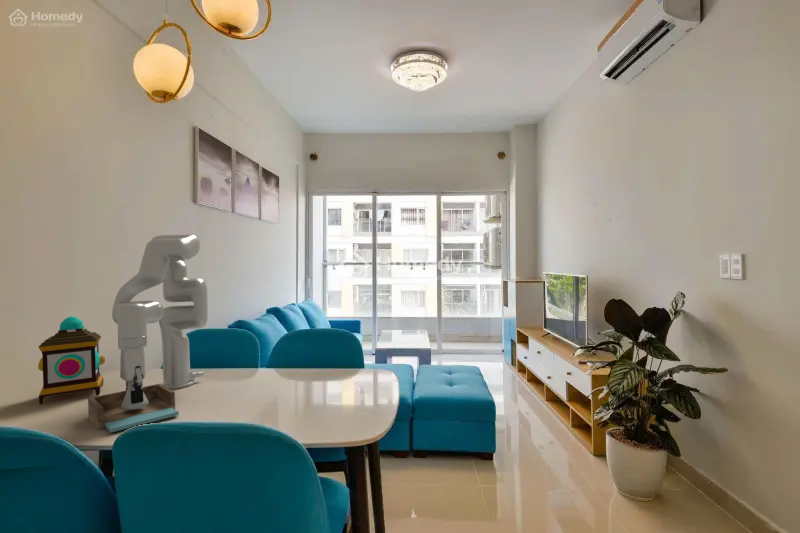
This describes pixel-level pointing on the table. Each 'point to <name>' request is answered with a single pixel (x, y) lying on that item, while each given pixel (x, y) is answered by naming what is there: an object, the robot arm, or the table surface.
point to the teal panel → (141, 419)
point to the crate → (109, 410)
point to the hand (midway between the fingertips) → (134, 400)
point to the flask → (127, 399)
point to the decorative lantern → (70, 360)
